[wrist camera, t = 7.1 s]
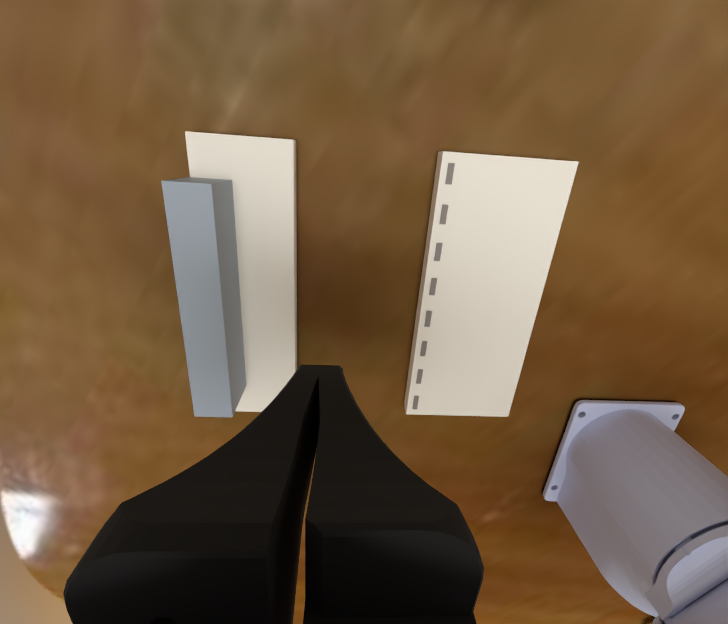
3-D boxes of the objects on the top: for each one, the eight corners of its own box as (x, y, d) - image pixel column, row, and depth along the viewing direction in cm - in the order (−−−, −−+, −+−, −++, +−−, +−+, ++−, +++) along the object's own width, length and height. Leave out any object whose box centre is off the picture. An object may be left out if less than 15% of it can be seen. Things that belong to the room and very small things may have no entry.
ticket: (502, 407, 25) (508, 417, 24) (404, 404, 25) (406, 415, 24) (567, 161, 19) (580, 161, 18) (438, 151, 19) (443, 151, 18)
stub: (297, 402, 24) (288, 446, 21) (221, 401, 24) (198, 445, 20) (296, 140, 18) (283, 136, 14) (193, 132, 18) (153, 126, 14)
